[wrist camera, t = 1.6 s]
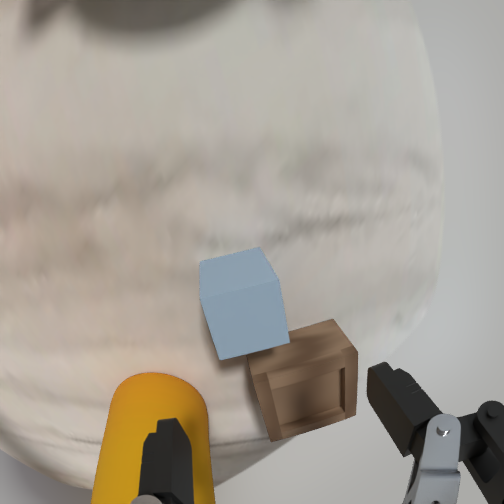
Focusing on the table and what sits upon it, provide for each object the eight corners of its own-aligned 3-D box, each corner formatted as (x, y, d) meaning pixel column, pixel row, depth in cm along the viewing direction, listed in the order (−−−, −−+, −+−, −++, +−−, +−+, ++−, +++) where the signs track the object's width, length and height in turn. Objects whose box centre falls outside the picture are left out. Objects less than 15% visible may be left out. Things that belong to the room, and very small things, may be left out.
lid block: (214, 313, 24) (219, 360, 18) (199, 261, 22) (199, 298, 17) (269, 299, 24) (289, 342, 18) (259, 246, 23) (279, 279, 17)
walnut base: (260, 403, 28) (270, 442, 23) (243, 343, 25) (253, 383, 20) (336, 381, 28) (355, 415, 24) (333, 318, 26) (358, 352, 21)
